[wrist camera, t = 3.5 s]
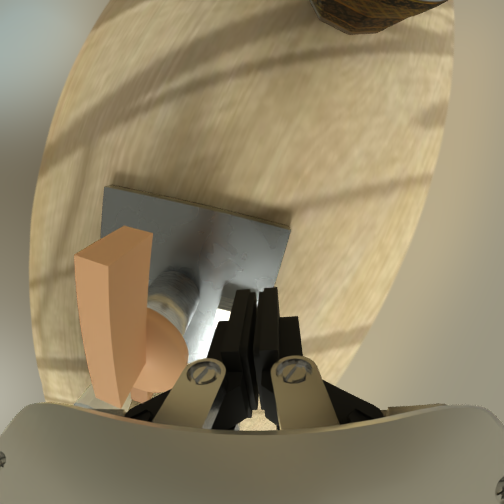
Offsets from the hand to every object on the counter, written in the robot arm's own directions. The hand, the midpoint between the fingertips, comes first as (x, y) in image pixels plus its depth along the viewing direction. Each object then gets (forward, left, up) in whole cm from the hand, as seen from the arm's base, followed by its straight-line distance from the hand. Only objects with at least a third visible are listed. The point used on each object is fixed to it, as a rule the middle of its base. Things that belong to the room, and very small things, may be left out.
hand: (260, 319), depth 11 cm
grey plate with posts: (-7, +7, -12) cm, 15 cm away
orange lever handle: (-5, +6, -3) cm, 9 cm away
